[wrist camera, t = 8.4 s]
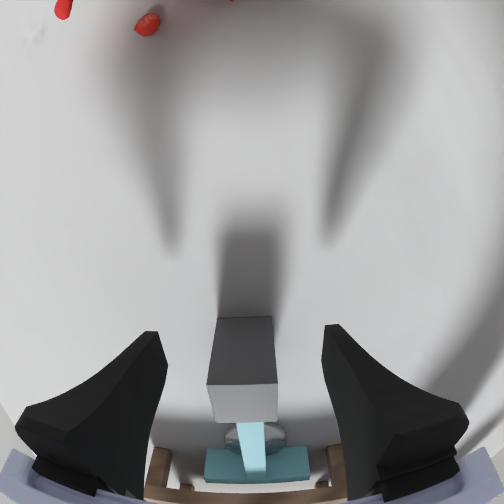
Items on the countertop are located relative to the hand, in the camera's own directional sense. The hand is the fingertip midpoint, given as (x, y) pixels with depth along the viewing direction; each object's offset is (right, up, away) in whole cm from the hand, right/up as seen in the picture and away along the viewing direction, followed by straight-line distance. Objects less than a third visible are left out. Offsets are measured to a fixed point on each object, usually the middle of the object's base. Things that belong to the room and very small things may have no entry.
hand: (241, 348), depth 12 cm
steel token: (+1, -11, +9) cm, 14 cm away
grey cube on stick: (0, -7, +7) cm, 10 cm away
